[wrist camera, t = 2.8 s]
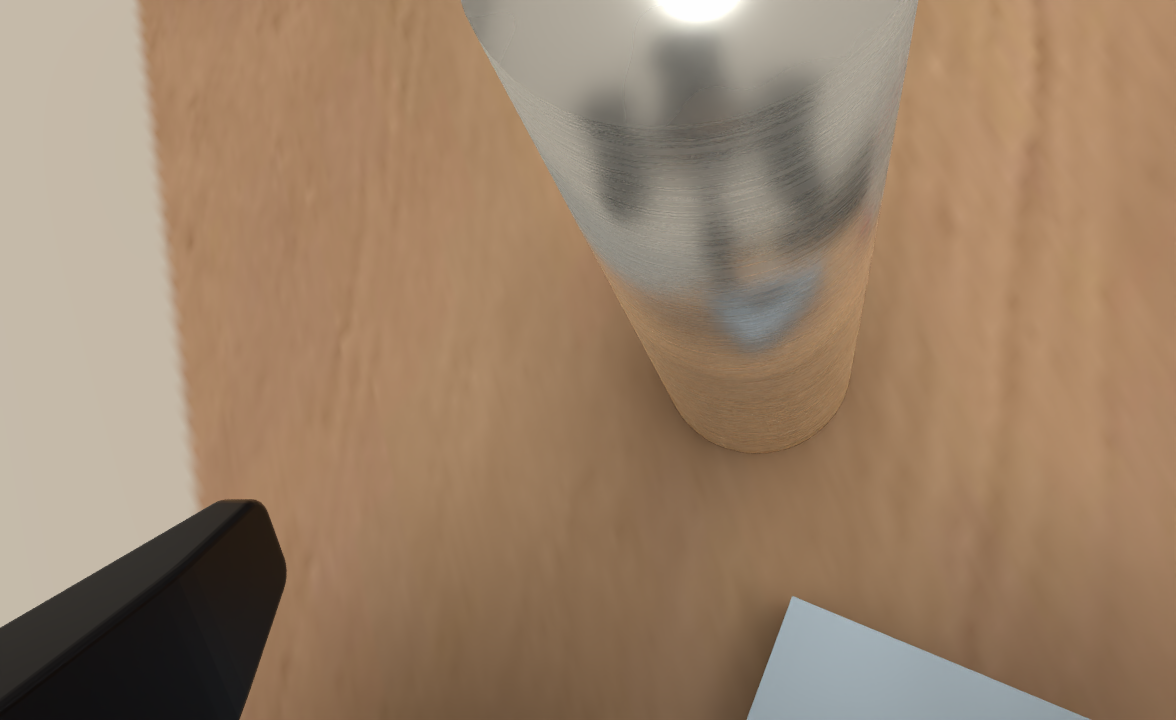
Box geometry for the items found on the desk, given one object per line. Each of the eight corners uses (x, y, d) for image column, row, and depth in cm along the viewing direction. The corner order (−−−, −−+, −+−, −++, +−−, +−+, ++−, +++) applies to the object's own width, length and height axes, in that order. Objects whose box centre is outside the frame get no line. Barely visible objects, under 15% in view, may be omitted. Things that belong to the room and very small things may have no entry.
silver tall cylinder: (812, 481, 20) (832, 186, 7) (637, 415, 22) (378, 58, 8) (877, 308, 21) (1002, -247, 8) (703, 253, 22) (561, -310, 9)
